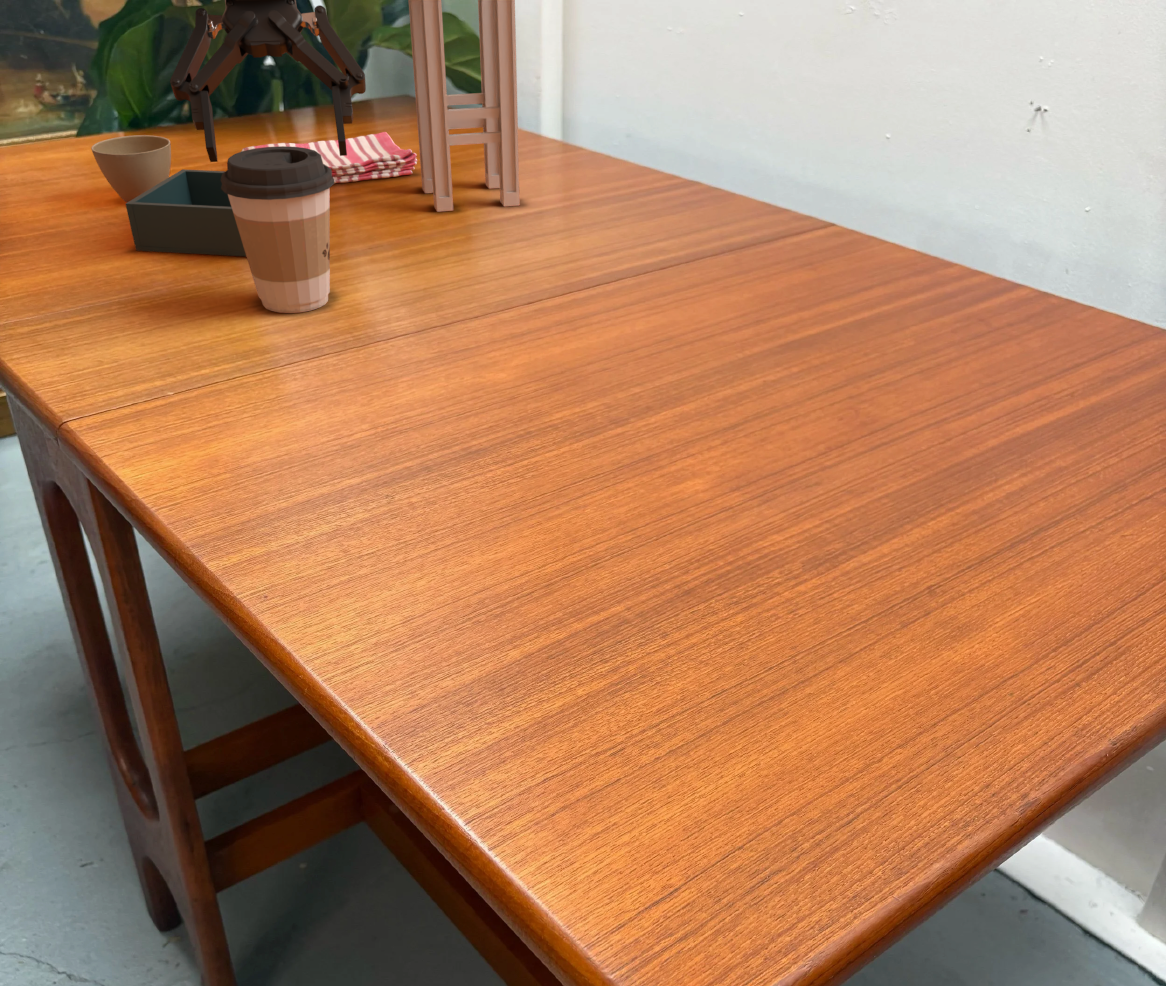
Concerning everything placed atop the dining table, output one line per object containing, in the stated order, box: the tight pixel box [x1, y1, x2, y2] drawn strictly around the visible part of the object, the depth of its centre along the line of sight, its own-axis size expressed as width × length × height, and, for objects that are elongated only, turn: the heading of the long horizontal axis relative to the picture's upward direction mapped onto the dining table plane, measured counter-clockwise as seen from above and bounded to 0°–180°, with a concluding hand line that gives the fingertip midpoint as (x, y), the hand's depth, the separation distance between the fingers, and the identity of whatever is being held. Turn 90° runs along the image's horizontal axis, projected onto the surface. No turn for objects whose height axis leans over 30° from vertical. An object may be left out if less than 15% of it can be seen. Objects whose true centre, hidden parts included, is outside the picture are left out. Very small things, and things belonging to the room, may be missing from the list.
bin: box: [125, 168, 246, 257], centre depth 137 cm, size 16×16×6 cm
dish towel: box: [240, 131, 418, 184], centre depth 163 cm, size 17×23×4 cm
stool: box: [408, 0, 521, 213], centre depth 142 cm, size 16×16×35 cm
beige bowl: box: [90, 134, 172, 203], centre depth 148 cm, size 10×10×7 cm
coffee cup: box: [221, 146, 335, 314], centre depth 115 cm, size 11×11×15 cm
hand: (278, 152), depth 117 cm, fingers open, 13 cm apart
